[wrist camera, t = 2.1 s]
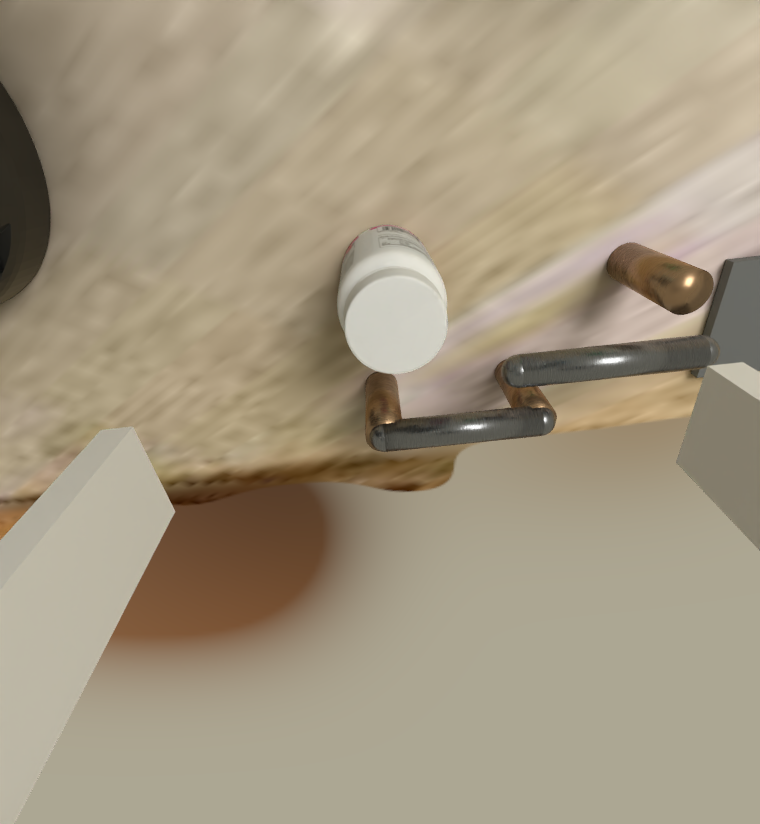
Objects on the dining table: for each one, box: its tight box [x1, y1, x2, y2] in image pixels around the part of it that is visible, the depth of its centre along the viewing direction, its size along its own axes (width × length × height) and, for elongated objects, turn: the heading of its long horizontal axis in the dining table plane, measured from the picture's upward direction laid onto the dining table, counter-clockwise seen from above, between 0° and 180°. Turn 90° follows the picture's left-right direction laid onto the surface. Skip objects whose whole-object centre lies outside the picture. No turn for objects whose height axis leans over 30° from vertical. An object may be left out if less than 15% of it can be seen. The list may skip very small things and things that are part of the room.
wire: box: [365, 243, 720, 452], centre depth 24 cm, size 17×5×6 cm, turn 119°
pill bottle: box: [337, 225, 448, 374], centre depth 20 cm, size 5×5×8 cm
